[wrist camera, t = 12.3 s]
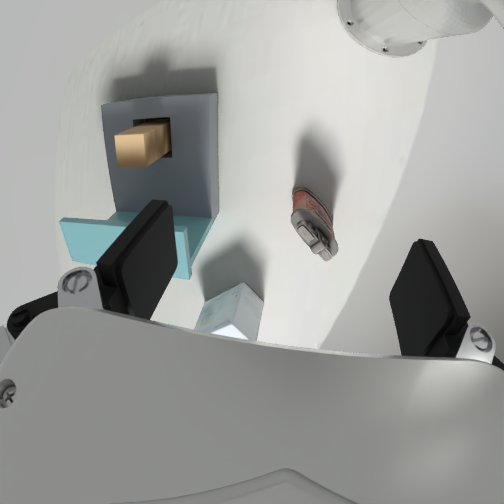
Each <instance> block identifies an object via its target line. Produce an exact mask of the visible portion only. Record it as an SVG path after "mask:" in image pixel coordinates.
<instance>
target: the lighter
mask: <svg viewBox="0 0 504 504" xmlns="http://www.w3.org/2000/svg"><path fill="white" fill-rule="evenodd" d="M292 201H293V213H292V215H291V223H292V225H293V226H294V228H295V230H296V231H297V233H298V234H299V235H300V237H301V238H302V239H303V241H304V242H305V243H306V244H307V245H308V246H309V247H310V249H311V250H312V252H313V253H314V254H319V256H320V257H321V258H322V259H323V260H324V261H329V260H330V259H332V257H333V256H334V255H336V254H337V252H338V244H337V242H336V240H335V236H334V231H333V220H332V217H331V216H330V214H329V212H328V210H327V209H326V207H325V206H324V204H323V203H322V202H321V201H320V200H319V199H318V198H317V197H316V195H314V194H313V193H312V192H311V191H309V190H308V189H307V188H305V187H298V188H296V189H295V190H294V191H293V193H292Z"/></svg>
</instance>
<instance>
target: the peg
mask: <svg viewBox="0 0 504 504" xmlns="http://www.w3.org/2000/svg"><path fill="white" fill-rule="evenodd" d="M115 147H116V156H117V165H118V167H141V168H146V167H148V166H149V165H150V164H152V163H153V162H155V161H156V160H157V159H159V158H160V157H162V156H163V155H164V154H166V153H167V152H169V151H170V150H172V143H171V125H170V119H157V120H150V121H148V122H145V123H143V124H140V125H138V126H135V127H133V128H131V129H128V130H126V131H124V132H121V133H119V134H117V135H115Z"/></svg>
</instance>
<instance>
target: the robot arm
mask: <svg viewBox="0 0 504 504" xmlns="http://www.w3.org/2000/svg"><path fill="white" fill-rule="evenodd" d="M337 9H338V13H339V17H340V19H341V22H342V24H343V26H344V27H345V29H346V30H347V32H348V33H349V34H350V35H351V36H352V37H353V39H355V40H356V41H357V42H358V43H359V44H360V45H362V46H364V47H365V48H367V49H368V50H370V51H373V52H375V53H377V54H380V55H384V56H389V57H404V56H409V55H411V54H414V53H416V52H418V51H419V50H421V49H422V48H423V47H424V45H425V44H426V42H427V40H430V39H436V38H443V37H449V36H456V35H464V34H470V33H474V32H477V31H479V30H481V29H483V28H484V27H485V26H486V25H487V24H488V23H489V22H490V20H491V18H492V17H493V16H494V17H495V18H496V19H497V21H498V22H499V23H500V25H501V26H502V27H503V28H504V0H338V2H337ZM347 22H349V23H351V25H348V24H347ZM418 42H419V43H418ZM383 48H384V49H385V52H384V51H383ZM96 264H97V266H96V267H95V268H94V270H92V269H91V268H88V267H78V268H74V269H72V270H70V271H68V272H67V273H65V274H64V275H63V276H62V277H61V279H60V281H59V283H58V291H57V292H54V293H52V294H49V295H47V296H44V297H42V298H39V299H37V300H34V301H32V302H29V303H26V304H24V305H21V306H20V307H18V308H16V309H15V310H14V311H13V312H12V314H11V315H10V317H9V319H8V321H7V327H6V328H5V327H4V326H3V325H2V326H1V327H0V504H504V364H503V363H502V362H501V361H500V360H499V359H497V358H496V357H495V356H494V352H495V341H494V339H493V337H492V335H491V334H490V332H489V331H488V330H487V329H486V328H485V327H483V326H482V325H480V324H476V323H475V324H471V325H469V326H468V324H467V321H468V320H469V318H470V315H469V312H468V310H467V307H466V305H465V303H464V301H463V299H462V296H461V294H460V292H459V290H458V288H457V286H456V284H455V282H454V280H453V278H452V276H451V274H450V272H449V270H448V268H447V266H446V264H445V262H444V260H443V259H442V257H441V255H440V253H439V251H438V250H437V248H436V246H435V244H434V243H433V242H432V241H429V240H423V239H418V241H417V242H414V243H413V245H412V247H411V249H410V251H409V254H408V256H407V258H406V260H405V263H404V265H403V267H402V269H401V271H400V273H399V276H398V278H397V280H396V282H395V284H394V286H393V288H392V290H391V292H390V296H389V297H390V298H389V300H390V305H391V308H392V313H393V317H394V321H395V326H396V330H397V335H398V339H399V344H400V349H401V354H402V356H396V355H377V354H362V353H351V352H340V351H329V350H320V349H311V348H302V347H294V346H287V345H279V344H272V343H266V342H259V341H253V340H247V339H241V338H235V337H229V336H224V335H218V334H213V333H208V332H202V331H197V330H193V329H188V328H183V327H178V326H174V325H170V324H165V323H160V322H156V321H151V320H150V318H151V316H152V314H153V312H154V311H155V309H156V307H157V305H158V303H159V301H160V299H161V297H162V295H163V293H164V291H165V289H166V287H167V286H168V284H169V282H170V280H171V278H172V276H173V274H174V273H175V271H176V269H177V265H178V257H177V249H176V239H175V230H174V219H173V208H172V205H169V204H168V202H167V201H166V200H155V199H153V200H151V201H150V202H149V203H148V204H147V205H146V206H145V208H144V209H143V210H142V211H141V212H140V213H139V214H138V215H137V216H136V217H135V218H134V219H133V220H132V222H131V223H130V224H129V225H128V226H127V227H126V228H125V229H124V230H123V232H122V233H121V234H120V235H119V236H118V237H117V238H116V240H115V241H114V242H113V243H112V244H111V245H110V247H109V248H108V249H107V250H106V251H105V252H104V254H103V255H102V256H101V257H100V258H99V260H98V261H97V262H96Z"/></svg>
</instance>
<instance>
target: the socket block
mask: <svg viewBox="0 0 504 504" xmlns="http://www.w3.org/2000/svg"><path fill="white" fill-rule="evenodd" d="M101 110H102V121H103V131H104V139H105V147H106V155H107V162H108V168H109V175H110V180H111V186H112V192H113V197H114V202H115V207H116V212H115V213H114V214H113V215H112V216H111V217H110V218H109V219H108V220H93V219H79V218H63V219H62V220H60V221H59V223H60V226H61V229H62V232H63V235H64V238H65V241H66V244H67V247H68V250H69V253H70V256H71V258H72V261H75V262H80V263H86V264H91V265H97V264H96V262H97V261H98V260H99V258H100V257H101V256H102V255H103V254H104V252H105V251H106V250H107V249H108V248H109V247H110V245H111V244H112V243H113V242H114V241H115V240H116V238H117V237H118V236H119V235H120V234H121V233H122V232H123V230H124V229H125V228H126V227H127V226H128V225H129V224H130V223H131V222H132V220H133V219H134V218H135V217H136V216H137V215H138V214H139V213H140V212H141V211H142V210H143V209H144V208H145V206H146V205H147V204H148V203H149V202H150V201H151V200H153V199H155V200H166V201H167V202H168V204H169V205H172V208H173V219H174V230H175V239H176V249H177V257H178V265H177V269H176V271H175V273H174V274H173V276H172V277H173V278H180V279H187V280H190V277H191V275H192V269H191V266H192V264H193V262H194V260H195V258H196V256H197V254H198V252H199V250H200V248H201V246H202V244H203V242H204V240H205V238H206V236H207V234H208V232H209V230H210V228H211V226H212V224H213V222H214V221H215V219H216V217H217V215H218V213H219V186H218V93H195V94H177V95H164V96H153V97H144V98H136V99H129V100H122V101H116V102H112V103H108V104H105V105H101ZM160 117H170V125H171V143H172V150H170V151H169V152H167V153H166V154H164V155H163V156H162V157H160V158H159V159H157V160H156V161H155V162H153V163H152V164H150V165H149V166H148V167H146V168H141V167H118V165H117V156H116V147H115V135H117V134H119V133H121V132H124V131H126V130H128V129H131V128H133V127H135V126H138V125H140V124H143V123H145V122H147V118H160Z"/></svg>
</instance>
